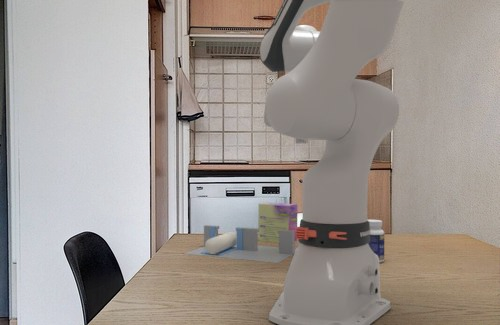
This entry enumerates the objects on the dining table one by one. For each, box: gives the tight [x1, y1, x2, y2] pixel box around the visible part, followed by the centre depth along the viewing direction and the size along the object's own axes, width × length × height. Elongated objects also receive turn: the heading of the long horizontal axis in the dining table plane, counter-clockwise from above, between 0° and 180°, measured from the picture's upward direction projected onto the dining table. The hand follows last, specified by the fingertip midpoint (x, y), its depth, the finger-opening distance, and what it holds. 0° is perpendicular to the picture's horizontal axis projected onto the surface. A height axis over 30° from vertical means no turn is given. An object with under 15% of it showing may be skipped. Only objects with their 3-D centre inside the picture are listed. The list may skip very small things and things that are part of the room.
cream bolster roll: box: [205, 231, 237, 254], centre depth 121 cm, size 12×4×4 cm, turn 157°
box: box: [257, 202, 298, 244], centre depth 137 cm, size 10×6×12 cm, turn 58°
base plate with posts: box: [183, 224, 297, 264], centre depth 120 cm, size 18×26×7 cm
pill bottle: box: [367, 219, 385, 264], centre depth 112 cm, size 6×6×10 cm
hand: (301, 143), depth 120 cm, fingers closed
